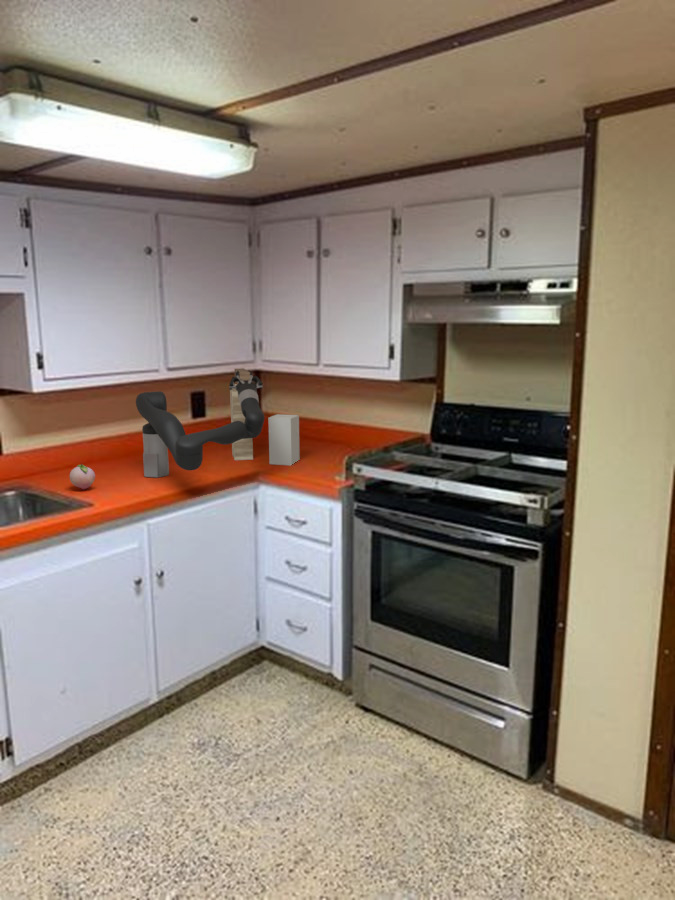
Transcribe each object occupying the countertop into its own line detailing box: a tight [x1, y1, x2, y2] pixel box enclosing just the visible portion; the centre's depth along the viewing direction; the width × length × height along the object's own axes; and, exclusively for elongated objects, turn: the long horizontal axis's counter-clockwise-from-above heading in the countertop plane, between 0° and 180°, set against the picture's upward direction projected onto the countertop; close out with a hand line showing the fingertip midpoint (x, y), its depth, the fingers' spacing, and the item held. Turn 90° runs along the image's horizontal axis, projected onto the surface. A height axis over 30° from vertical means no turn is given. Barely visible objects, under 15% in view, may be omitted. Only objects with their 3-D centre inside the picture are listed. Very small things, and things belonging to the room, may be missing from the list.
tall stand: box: [229, 383, 254, 461], centre depth 303 cm, size 12×8×32 cm, turn 13°
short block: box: [267, 413, 300, 466], centre depth 294 cm, size 10×10×20 cm
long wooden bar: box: [234, 368, 251, 381], centre depth 288 cm, size 21×4×4 cm, turn 14°
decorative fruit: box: [69, 462, 96, 491], centre depth 251 cm, size 9×8×10 cm
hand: (243, 372), depth 284 cm, fingers closed on long wooden bar, 4 cm apart
